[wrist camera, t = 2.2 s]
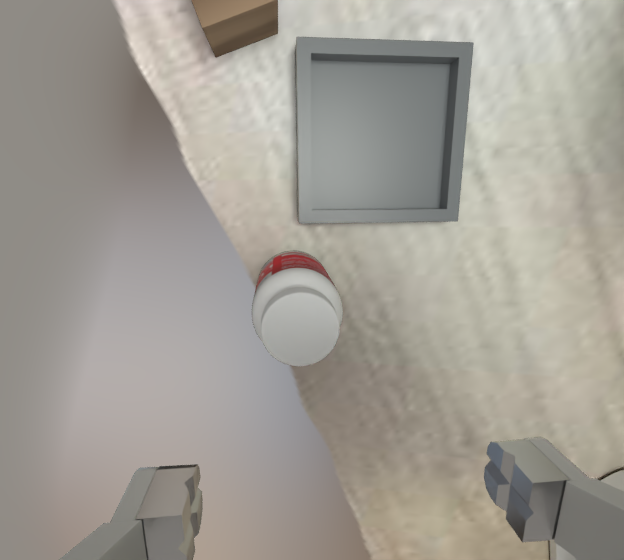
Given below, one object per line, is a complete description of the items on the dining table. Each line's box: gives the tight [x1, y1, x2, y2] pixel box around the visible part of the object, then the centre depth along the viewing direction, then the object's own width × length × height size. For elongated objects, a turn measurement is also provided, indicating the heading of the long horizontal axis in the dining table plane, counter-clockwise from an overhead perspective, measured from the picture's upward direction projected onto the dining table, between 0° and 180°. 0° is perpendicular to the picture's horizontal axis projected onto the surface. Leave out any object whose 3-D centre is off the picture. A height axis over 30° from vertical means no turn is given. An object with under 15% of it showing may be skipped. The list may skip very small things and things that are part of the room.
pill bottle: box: [252, 251, 343, 366], centre depth 26 cm, size 6×6×11 cm
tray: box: [295, 37, 473, 223], centre depth 28 cm, size 13×13×2 cm
